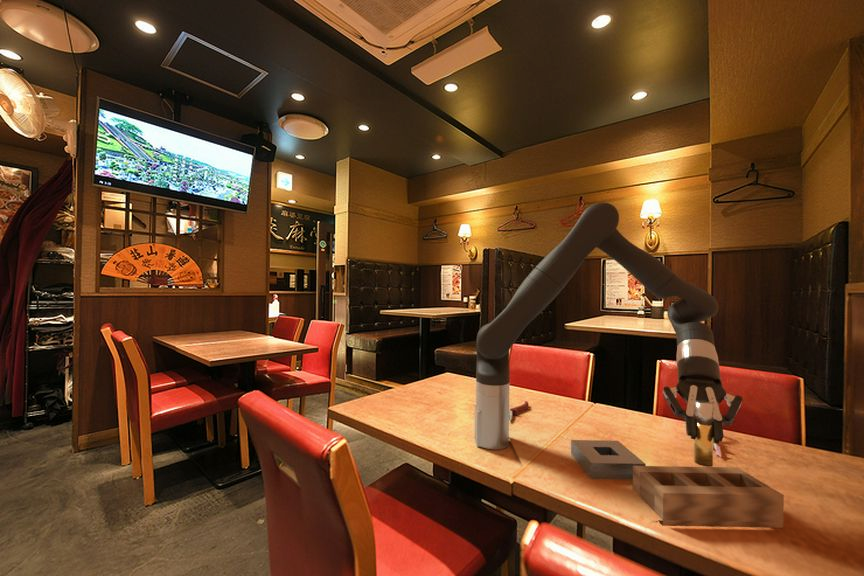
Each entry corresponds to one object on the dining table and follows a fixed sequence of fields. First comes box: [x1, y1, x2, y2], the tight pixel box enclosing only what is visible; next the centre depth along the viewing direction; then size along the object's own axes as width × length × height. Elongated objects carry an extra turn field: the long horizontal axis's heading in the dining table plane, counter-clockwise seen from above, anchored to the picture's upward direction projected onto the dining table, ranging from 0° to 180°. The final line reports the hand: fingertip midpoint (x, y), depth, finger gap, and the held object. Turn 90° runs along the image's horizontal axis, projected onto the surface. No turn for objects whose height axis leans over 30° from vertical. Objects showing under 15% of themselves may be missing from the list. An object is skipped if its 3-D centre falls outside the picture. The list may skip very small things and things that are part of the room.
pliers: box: [509, 400, 530, 423], centre depth 124 cm, size 12×20×3 cm, turn 160°
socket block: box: [570, 439, 647, 481], centre depth 86 cm, size 12×12×4 cm
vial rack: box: [632, 465, 785, 529], centre depth 71 cm, size 22×10×6 cm, turn 90°
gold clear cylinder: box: [693, 400, 714, 467], centre depth 71 cm, size 3×3×12 cm
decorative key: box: [713, 440, 722, 458], centre depth 100 cm, size 7×1×20 cm
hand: (705, 439), depth 69 cm, fingers closed on gold clear cylinder, 3 cm apart
